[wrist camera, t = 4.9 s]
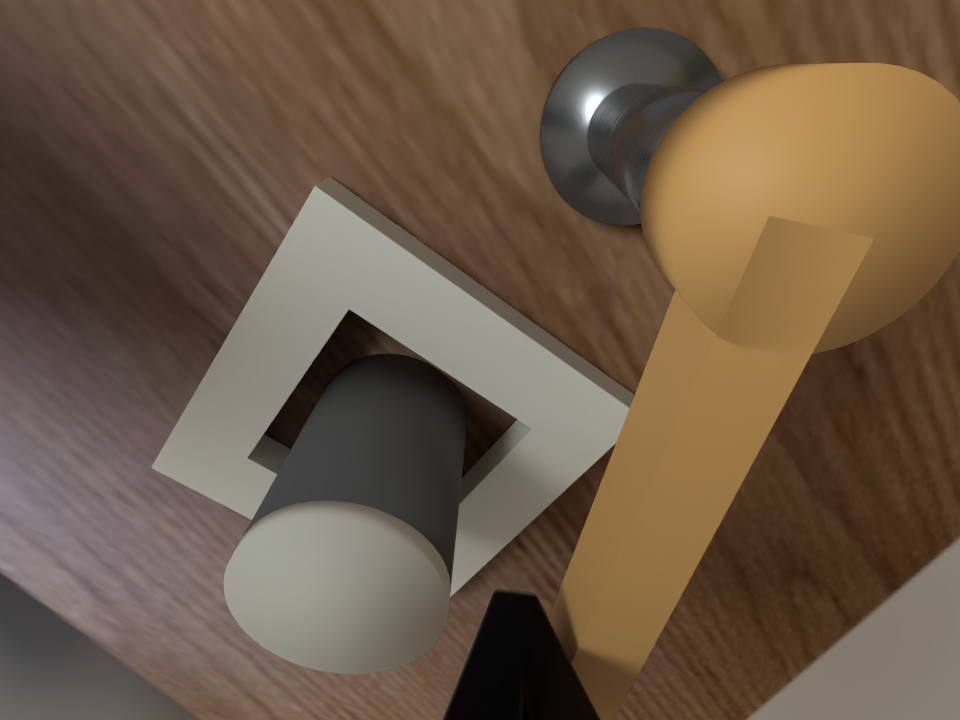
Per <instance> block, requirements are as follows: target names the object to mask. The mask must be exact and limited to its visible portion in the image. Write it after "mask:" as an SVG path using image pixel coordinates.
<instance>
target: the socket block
mask: <svg viewBox="0 0 960 720" xmlns="http://www.w3.org/2000/svg"><path fill="white" fill-rule="evenodd" d="M349 309H350V310H351V311H353V312H354V313H356V314H357V315H359V316H360V317H362V318H363V319H365V320H366V321H368V322H370V323H371V324H373V325H374V326H376V327H377V328H379V329H380V330H382V331H383V332H385V333H386V334H388V335H389V336H391V337H392V338H394V339H396V340H397V341H399V342H400V343H402V344H403V345H405V346H406V347H408V348H409V349H411V350H412V351H414V352H415V353H417V354H418V355H420V356H421V357H423V358H425V359H426V360H428V361H429V362H431V363H432V364H434V365H435V366H437V367H438V368H440V369H441V370H443V371H444V372H446V373H447V374H449V375H451V376H452V377H454V378H455V379H457V380H458V381H460V382H461V383H463V384H464V385H466V386H467V387H469V388H470V389H472V390H473V391H475V392H476V393H478V394H480V395H481V396H483V397H484V398H486V399H487V400H489V401H490V402H492V403H493V404H495V405H496V406H498V407H499V408H501V409H502V410H504V411H506V412H507V413H509V414H510V415H512V416H513V417H515V418H516V419H517V420H516V421H515V422H514V423H513V424H512V425H511V427H510V428H509V429H508V430H507V431H506V432H505V433H504V434H503V435H502V436H501V437H500V438H499V439H498V440H497V441H496V442H495V443H494V445H493V446H492V447H491V448H490V449H489V450H488V451H487V452H486V453H485V454H484V455H483V456H482V457H481V458H480V459H479V460H478V462H477V463H476V464H475V465H474V466H473V467H472V468H471V469H470V470H469V471H468V472H467V473H466V474H465V475H464V476H463V477H462V481H461V491H460V501H459V511H458V521H457V532H456V542H455V552H454V562H453V572H452V583H451V593H450V597H451V596H452V595H453V594H454V593H455V592H456V591H458V590H459V589H460V588H461V587H462V586H463V585H464V584H465V583H466V582H467V581H468V580H469V579H470V578H472V577H473V576H474V575H475V574H476V573H477V572H478V571H479V570H480V569H481V568H482V567H483V566H484V565H485V564H487V563H488V562H489V561H490V560H491V559H492V558H493V557H494V556H495V555H496V554H497V553H498V552H499V551H501V550H502V549H503V548H504V547H505V546H506V545H507V544H508V543H509V542H510V541H511V540H512V539H513V538H515V537H516V536H517V535H518V534H519V533H520V532H521V531H522V530H523V529H524V528H525V527H526V526H527V525H528V524H530V523H531V522H532V521H533V520H534V519H535V518H536V517H537V516H538V515H539V514H540V513H541V512H542V511H544V510H545V509H546V508H547V507H548V506H549V505H550V504H551V503H552V502H553V501H554V500H555V499H556V498H558V497H559V496H560V495H561V494H562V493H563V492H564V491H565V490H566V489H567V488H568V487H569V486H570V485H571V484H573V483H574V482H575V481H576V480H577V479H578V478H579V477H580V476H581V475H582V474H583V473H584V472H585V471H587V470H588V469H589V468H590V467H591V466H592V465H593V464H594V463H595V462H596V461H597V460H598V459H599V458H601V457H602V456H603V455H604V454H605V453H606V452H607V451H608V450H609V449H610V448H611V447H612V446H613V445H614V444H616V442H617V440H618V437H619V435H620V432H621V429H622V427H623V424H624V422H625V419H626V417H627V414H628V411H629V409H630V406H631V404H632V401H633V398H634V394H632V393H631V392H630V391H628V390H627V389H625V388H624V387H623V386H621V385H620V384H618V383H617V382H616V381H614V380H613V379H611V378H610V377H609V376H607V375H606V374H604V373H603V372H602V371H600V370H599V369H597V368H596V367H595V366H593V365H592V364H591V363H589V362H588V361H586V360H585V359H584V358H582V357H581V356H579V355H578V354H577V353H575V352H574V351H572V350H571V349H570V348H568V347H567V346H565V345H564V344H563V343H561V342H560V341H558V340H557V339H556V338H554V337H553V336H551V335H550V334H549V333H547V332H546V331H544V330H543V329H542V328H540V327H539V326H538V325H536V324H535V323H533V322H532V321H531V320H529V319H528V318H526V317H525V316H524V315H522V314H521V313H519V312H518V311H517V310H515V309H514V308H512V307H511V306H510V305H508V304H507V303H505V302H504V301H503V300H501V299H500V298H498V297H497V296H496V295H494V294H493V293H491V292H490V291H489V290H487V289H486V288H485V287H483V286H482V285H480V284H479V283H478V282H476V281H475V280H473V279H472V278H471V277H469V276H468V275H466V274H465V273H464V272H462V271H461V270H459V269H458V268H457V267H455V266H454V265H452V264H451V263H450V262H448V261H447V260H445V259H444V258H443V257H441V256H440V255H438V254H437V253H436V252H434V251H433V250H432V249H430V248H429V247H427V246H426V245H425V244H423V243H422V242H420V241H419V240H418V239H416V238H415V237H413V236H412V235H411V234H409V233H408V232H406V231H405V230H404V229H402V228H401V227H399V226H398V225H397V224H395V223H394V222H392V221H391V220H390V219H388V218H387V217H385V216H384V215H383V214H381V213H380V212H379V211H377V210H376V209H374V208H373V207H372V206H370V205H369V204H367V203H366V202H365V201H363V200H362V199H360V198H359V197H358V196H356V195H355V194H353V193H352V192H351V191H349V190H348V189H346V188H345V187H344V186H342V185H341V184H339V183H338V182H337V181H335V180H334V179H332V178H331V177H328V178H327V179H325V180H324V181H322V182H320V183H319V184H317V185H316V186H315V187H314V188H313V190H312V192H311V194H310V195H309V197H308V199H307V201H306V202H305V204H304V206H303V207H302V209H301V211H300V213H299V214H298V216H297V218H296V219H295V221H294V223H293V225H292V226H291V228H290V230H289V231H288V233H287V235H286V237H285V238H284V240H283V242H282V244H281V245H280V247H279V249H278V250H277V252H276V254H275V256H274V257H273V259H272V261H271V262H270V264H269V266H268V268H267V269H266V271H265V273H264V274H263V276H262V278H261V280H260V281H259V283H258V285H257V287H256V288H255V290H254V292H253V293H252V295H251V297H250V299H249V300H248V302H247V304H246V305H245V307H244V309H243V311H242V312H241V314H240V316H239V317H238V319H237V321H236V323H235V324H234V326H233V328H232V329H231V331H230V333H229V335H228V336H227V338H226V340H225V342H224V343H223V345H222V347H221V348H220V350H219V352H218V354H217V355H216V357H215V359H214V360H213V362H212V364H211V366H210V367H209V369H208V371H207V372H206V374H205V376H204V378H203V379H202V381H201V383H200V385H199V386H198V388H197V390H196V391H195V393H194V395H193V397H192V398H191V400H190V402H189V403H188V405H187V407H186V409H185V410H184V412H183V414H182V415H181V417H180V419H179V421H178V422H177V424H176V426H175V428H174V429H173V431H172V433H171V434H170V436H169V438H168V440H167V441H166V443H165V445H164V446H163V448H162V450H161V452H160V453H159V455H158V457H157V458H156V460H155V462H154V464H153V465H152V467H151V468H152V469H154V470H156V471H158V472H160V473H162V474H164V475H166V476H168V477H170V478H172V479H174V480H176V481H178V482H179V483H181V484H183V485H185V486H187V487H189V488H191V489H193V490H195V491H197V492H199V493H201V494H203V495H205V496H207V497H209V498H210V499H212V500H214V501H216V502H218V503H220V504H222V505H224V506H226V507H228V508H230V509H232V510H234V511H236V512H238V513H239V514H241V515H243V516H245V517H247V518H249V519H251V520H252V519H253V517H254V516H255V514H256V512H257V510H258V508H259V507H260V505H261V503H262V501H263V499H264V497H265V496H266V494H267V492H268V490H269V488H270V487H271V485H272V483H273V481H274V479H275V478H276V476H277V474H278V472H279V470H280V469H281V467H282V465H283V463H284V461H285V460H286V458H287V456H288V454H289V452H290V451H291V449H289V448H288V447H286V446H284V445H282V444H281V443H279V442H277V441H275V440H273V439H272V438H270V437H268V436H266V435H265V434H264V433H265V431H266V430H267V428H268V427H269V425H270V424H271V423H272V421H273V420H274V418H275V417H276V415H277V414H278V412H279V411H280V409H281V408H282V406H283V405H284V403H285V402H286V401H287V399H288V398H289V396H290V395H291V393H292V392H293V390H294V389H295V387H296V386H297V384H298V383H299V382H300V380H301V379H302V377H303V376H304V374H305V373H306V371H307V370H308V368H309V367H310V365H311V364H312V362H313V361H314V360H315V358H316V357H317V355H318V354H319V352H320V351H321V349H322V348H323V346H324V345H325V343H326V342H327V340H328V339H329V338H330V336H331V335H332V333H333V332H334V330H335V329H336V327H337V326H338V324H339V323H340V321H341V320H342V318H343V317H344V316H345V314H346V313H347V311H348V310H349Z"/></svg>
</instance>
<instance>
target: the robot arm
mask: <svg viewBox="0 0 960 720" xmlns="http://www.w3.org/2000/svg"><path fill="white" fill-rule="evenodd" d="M443 720H600V718H599V716H598V714H597V712H596V710H595V708H594V706H593V704H592V702H591V700H590V698H589V696H588V694H587V693H586V691H585V689H584V687H583V685H582V683H581V681H580V679H579V677H578V675H577V673H576V671H575V669H574V667H573V665H572V663H571V661H570V660H569V658H568V656H567V654H566V652H565V650H564V648H563V646H562V644H561V642H560V640H559V638H558V636H557V634H556V632H555V630H554V628H553V627H552V625H551V623H550V621H549V619H548V617H547V615H546V613H545V611H544V609H543V607H542V605H541V603H540V601H539V599H538V598H537V596H536V595H535V594H534V593H531V592H521V591H511V590H501V589H497V590H495V591H494V593H493V595H492V598H491V600H490V603H489V605H488V608H487V610H486V613H485V615H484V618H483V620H482V623H481V625H480V628H479V630H478V633H477V635H476V638H475V640H474V643H473V645H472V648H471V650H470V653H469V655H468V658H467V660H466V663H465V665H464V668H463V670H462V673H461V675H460V678H459V680H458V683H457V685H456V688H455V690H454V693H453V695H452V698H451V700H450V703H449V705H448V708H447V710H446V713H445V715H444V718H443Z"/></svg>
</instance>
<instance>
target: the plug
mask: <svg viewBox="0 0 960 720" xmlns="http://www.w3.org/2000/svg"><path fill="white" fill-rule="evenodd" d="M466 429H467V415H466V409H465V405H464V402H463V400H462V398H461V395H460V394H459V392H458V390H457V389H456V387H455V386H454V385H453V384H452V382H451V381H450V380H449V379H448V378H447V377H446V376H445V375H444V374H442V373H441V372H440V371H438V370H437V369H436V368H434V367H432V366H431V365H429V364H427V363H425V362H423V361H420V360H418V359H415V358H412V357H408V356H403V355H398V354H376V355H370V356H366V357H363V358H359V359H357V360H355V361H353V362H350V363H349V364H347V365H345V366H344V367H342V368H341V369H340V370H339V371H338V372H337V373H335V375H334V376H333V377H332V378H331V379H330V381H329V382H328V384H327V386H326V387H325V389H324V391H323V393H322V395H321V396H320V398H319V400H318V402H317V404H316V405H315V407H314V409H313V411H312V413H311V414H310V416H309V418H308V420H307V422H306V423H305V425H304V427H303V429H302V431H301V433H300V434H299V436H298V438H297V440H296V442H295V443H294V445H293V447H292V449H291V451H290V452H289V454H288V456H287V458H286V460H285V461H284V463H283V465H282V467H281V469H280V470H279V472H278V474H277V476H276V478H275V479H274V481H273V483H272V485H271V487H270V488H269V490H268V492H267V494H266V496H265V497H264V499H263V501H262V503H261V505H260V507H259V508H258V510H257V512H256V514H255V516H254V517H253V519H252V521H251V523H250V525H249V526H248V528H247V530H246V532H245V534H244V535H243V537H242V539H241V541H240V543H239V544H238V546H237V548H236V550H235V552H234V553H233V555H232V557H231V559H230V561H229V562H228V565H227V568H226V571H225V575H224V582H223V583H224V595H225V599H226V603H227V605H228V607H229V610H230V612H231V614H232V615H233V617H234V619H235V620H236V622H237V623H238V624H239V625H240V627H241V628H242V629H243V630H244V631H245V632H246V633H247V634H248V635H249V636H250V637H251V638H252V639H253V640H254V641H256V642H257V643H258V644H260V645H261V646H262V647H264V648H265V649H267V650H269V651H270V652H272V653H273V654H275V655H277V656H279V657H281V658H283V659H285V660H288V661H290V662H293V663H295V664H298V665H301V666H304V667H307V668H310V669H315V670H319V671H324V672H330V673H337V674H370V673H378V672H383V671H388V670H392V669H395V668H398V667H401V666H404V665H406V664H408V663H411V662H413V661H414V660H416V659H418V658H420V657H421V656H423V655H424V654H425V653H426V652H428V651H429V650H430V649H431V648H432V647H433V646H434V645H435V644H436V643H437V641H438V640H439V638H440V637H441V636H442V634H443V631H444V629H445V627H446V624H447V619H448V613H449V603H450V593H451V583H452V572H453V562H454V552H455V542H456V532H457V521H458V511H459V501H460V491H461V481H462V470H463V460H464V450H465V440H466Z"/></svg>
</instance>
